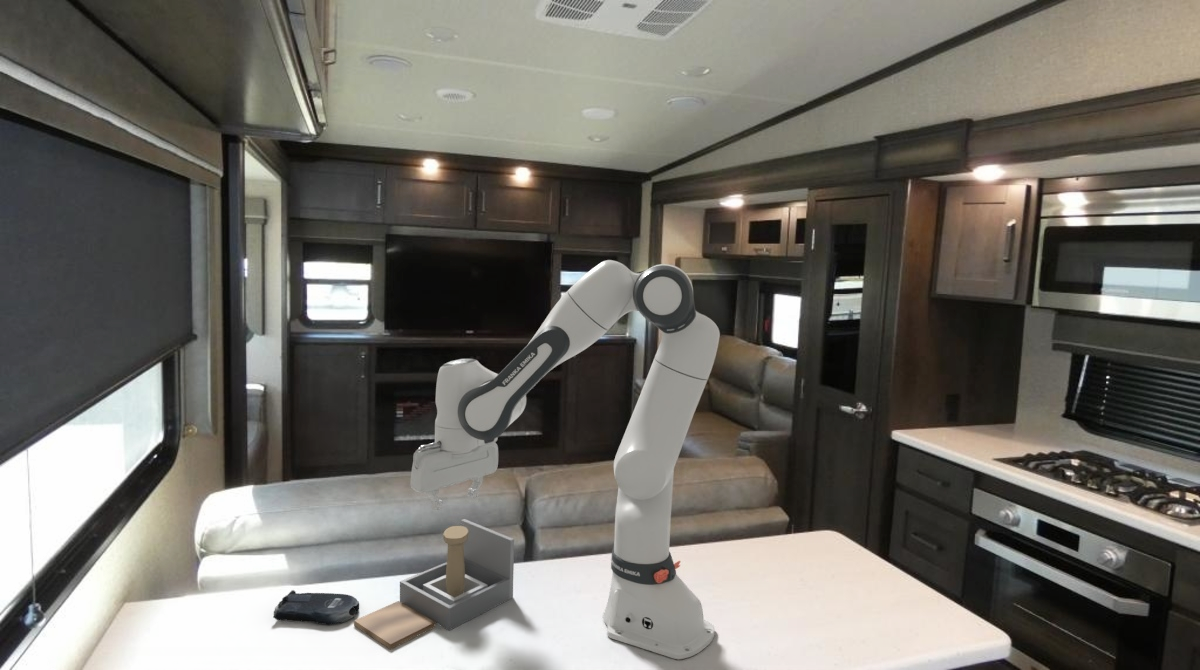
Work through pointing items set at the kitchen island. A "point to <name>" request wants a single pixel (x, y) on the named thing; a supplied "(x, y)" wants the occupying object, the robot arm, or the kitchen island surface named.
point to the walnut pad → (394, 624)
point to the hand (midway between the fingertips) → (455, 502)
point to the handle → (455, 559)
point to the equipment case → (483, 580)
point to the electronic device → (316, 607)
